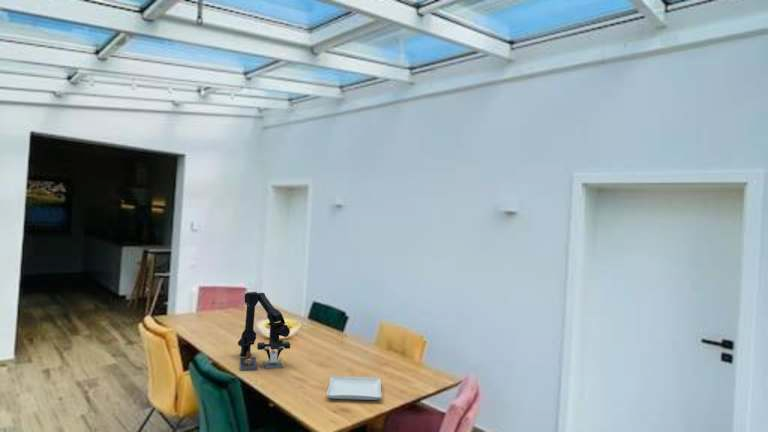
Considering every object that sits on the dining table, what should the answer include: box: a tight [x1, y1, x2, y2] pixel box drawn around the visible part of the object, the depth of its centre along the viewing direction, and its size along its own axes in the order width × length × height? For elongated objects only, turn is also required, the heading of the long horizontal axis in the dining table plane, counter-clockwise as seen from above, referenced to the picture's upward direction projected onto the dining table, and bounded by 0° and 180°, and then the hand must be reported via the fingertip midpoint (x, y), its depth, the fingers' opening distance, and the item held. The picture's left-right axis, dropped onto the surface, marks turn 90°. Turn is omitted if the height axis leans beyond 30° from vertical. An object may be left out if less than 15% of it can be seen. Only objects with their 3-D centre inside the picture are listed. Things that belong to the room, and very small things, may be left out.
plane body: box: [239, 350, 258, 372], centre depth 268 cm, size 16×9×6 cm, turn 18°
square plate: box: [326, 376, 383, 401], centre depth 237 cm, size 27×27×4 cm
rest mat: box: [263, 359, 284, 370], centre depth 273 cm, size 13×10×1 cm
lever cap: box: [268, 349, 278, 363], centre depth 273 cm, size 6×4×6 cm, turn 18°
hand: (273, 360), depth 273 cm, fingers closed on lever cap, 4 cm apart
